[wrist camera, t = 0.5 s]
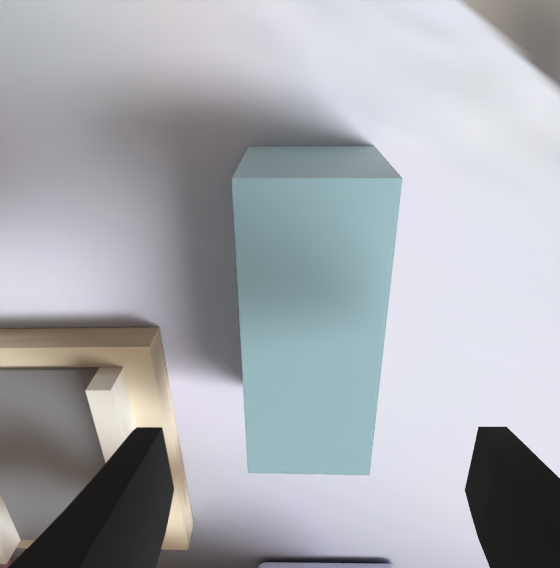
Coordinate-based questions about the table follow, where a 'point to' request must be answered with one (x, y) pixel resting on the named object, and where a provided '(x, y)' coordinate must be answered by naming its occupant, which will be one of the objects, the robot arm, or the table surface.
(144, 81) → the table surface
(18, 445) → the display stand
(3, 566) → the pink knobbed toy
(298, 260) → the light blue rectangular block
